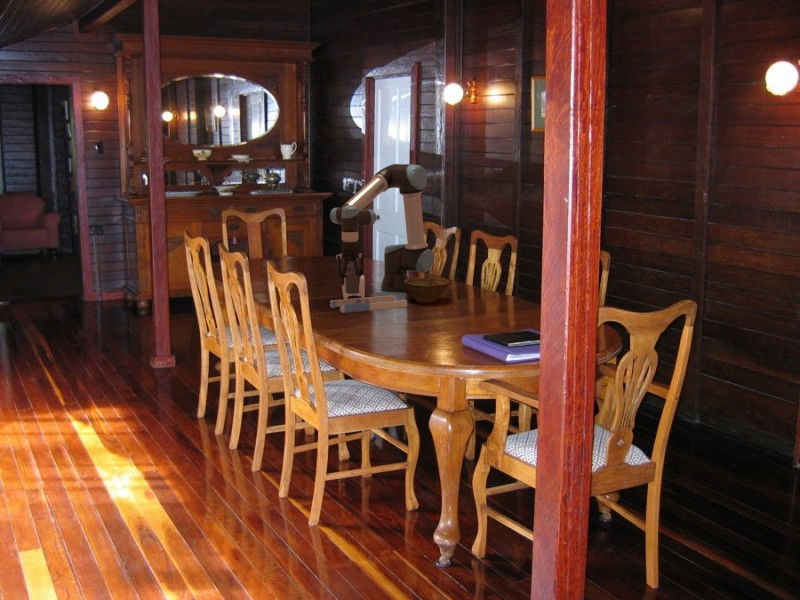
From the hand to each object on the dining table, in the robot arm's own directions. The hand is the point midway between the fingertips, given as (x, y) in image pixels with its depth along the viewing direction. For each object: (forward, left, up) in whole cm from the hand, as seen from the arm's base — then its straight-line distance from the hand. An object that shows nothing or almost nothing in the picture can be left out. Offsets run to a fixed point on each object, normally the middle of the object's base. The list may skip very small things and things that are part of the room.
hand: (350, 291), depth 423 cm
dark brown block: (0, 0, 0) cm, 0 cm away
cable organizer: (-11, -23, -8) cm, 27 cm away
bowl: (-40, -1, -8) cm, 41 cm away
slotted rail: (-9, 0, -8) cm, 12 cm away
